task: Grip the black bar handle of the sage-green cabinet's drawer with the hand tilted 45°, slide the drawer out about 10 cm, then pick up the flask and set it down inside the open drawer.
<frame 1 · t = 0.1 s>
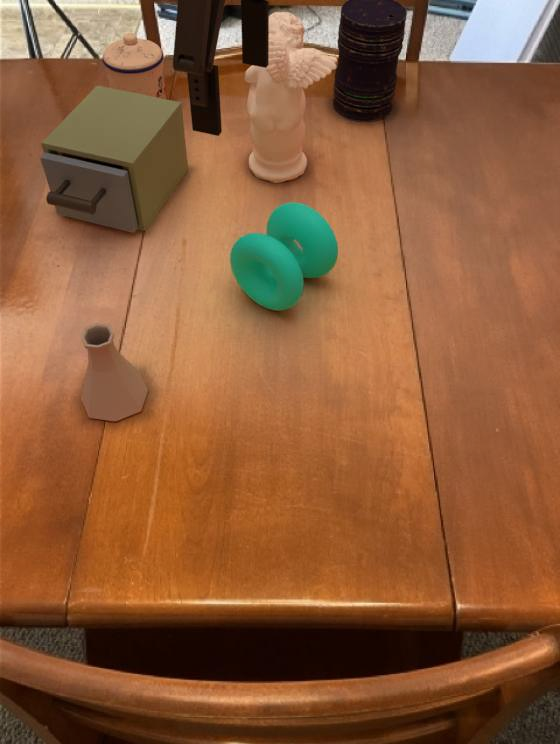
hand: (232, 96, 69), 23 cm above the table, tool pointing down, fingers open, 13 cm apart
cherub figurine: (287, 172, 100), on the table
drawer: (105, 176, 89), point 5 cm above the table, slide at 0.5 cm
flask: (115, 396, 74), on the table
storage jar: (362, 106, 111), on the table
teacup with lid: (140, 104, 110), on the table
green rounded spool: (283, 287, 85), on the table
cabinet: (126, 189, 96), on the table
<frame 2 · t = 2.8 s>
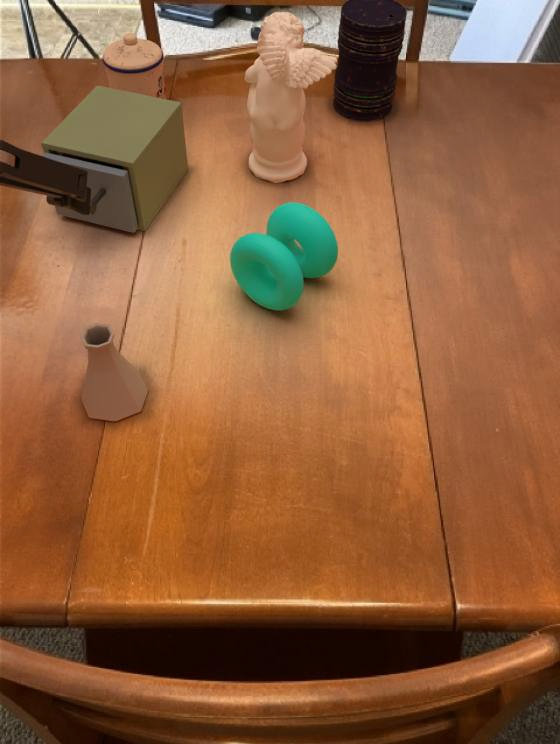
hand: (25, 198, 71), 15 cm above the table, tool tilted 40°, fingers open, 13 cm apart
nothing on the table moved.
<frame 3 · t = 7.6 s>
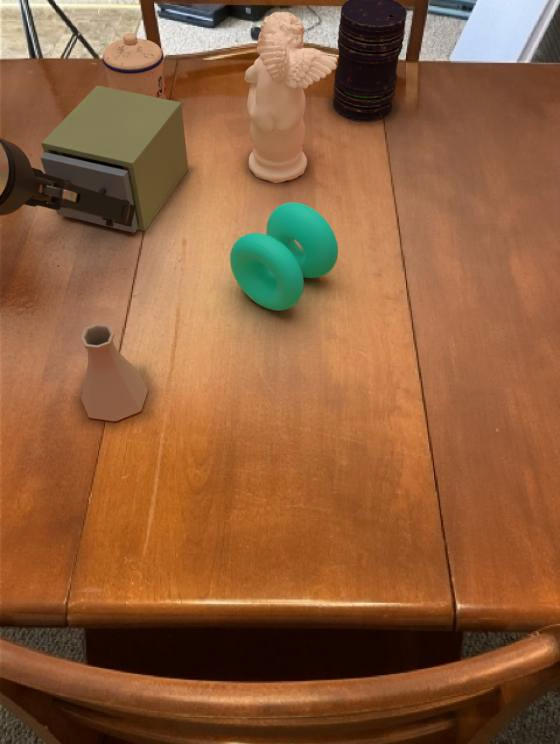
hand: (87, 205, 87), 4 cm above the table, tool tilted 45°, fingers closed on drawer, 11 cm apart
drawer: (105, 175, 89), point 5 cm above the table, slide at 0.5 cm, touching gripper
everything else where it was.
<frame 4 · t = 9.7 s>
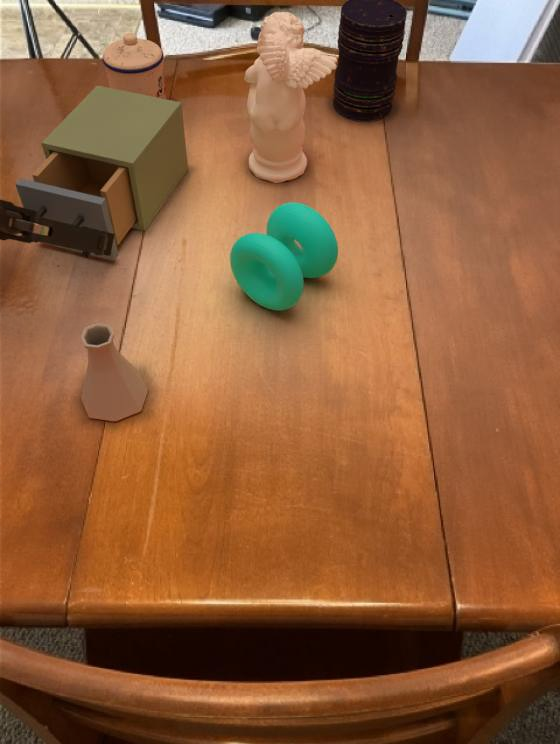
hand: (65, 233, 84), 4 cm above the table, tool tilted 45°, fingers closed on drawer, 11 cm apart
drawer: (84, 201, 86), point 5 cm above the table, slide at 6.2 cm, touching gripper
everything else where it was.
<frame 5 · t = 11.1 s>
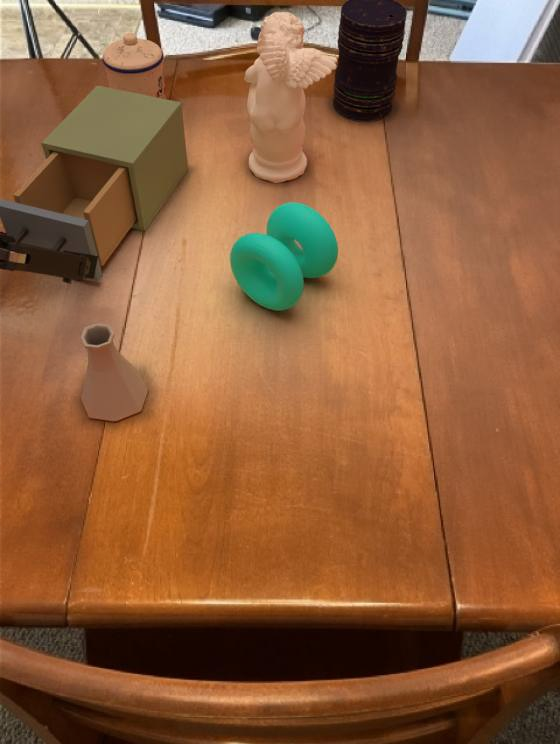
hand: (47, 255, 81), 4 cm above the table, tool tilted 45°, fingers closed on drawer, 11 cm apart
drawer: (67, 221, 83), point 5 cm above the table, slide at 10.4 cm, touching gripper
everything else where it was.
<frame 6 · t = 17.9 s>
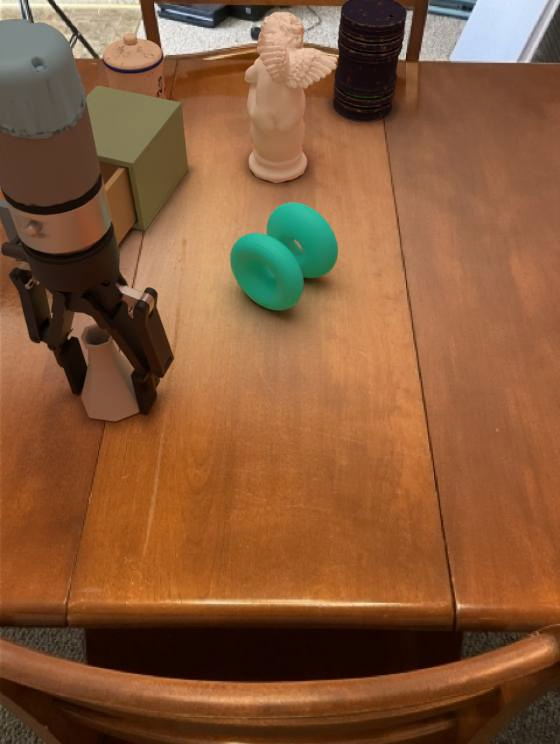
hand: (114, 394, 74), 0 cm above the table, tool pointing down, fingers closed on flask, 7 cm apart
drawer: (67, 221, 83), point 5 cm above the table, slide at 10.4 cm
flask: (115, 396, 74), on the table, touching gripper
everything else where it was.
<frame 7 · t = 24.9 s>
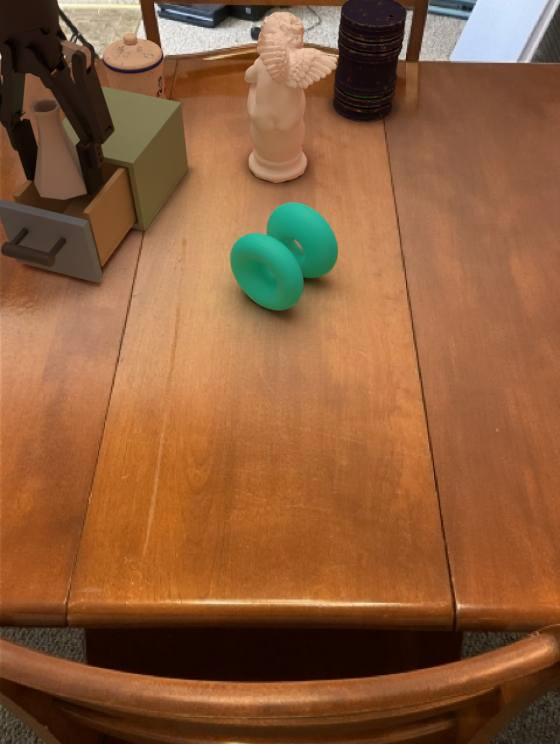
hand: (65, 180, 81), 10 cm above the table, tool pointing down, fingers closed on flask, 7 cm apart
flask: (66, 184, 81), point 10 cm above the table, touching gripper
everything else where it was.
when the fingers open (10 cm above the table, at t = 33.2 s): flask drops 8 cm, resting on drawer.
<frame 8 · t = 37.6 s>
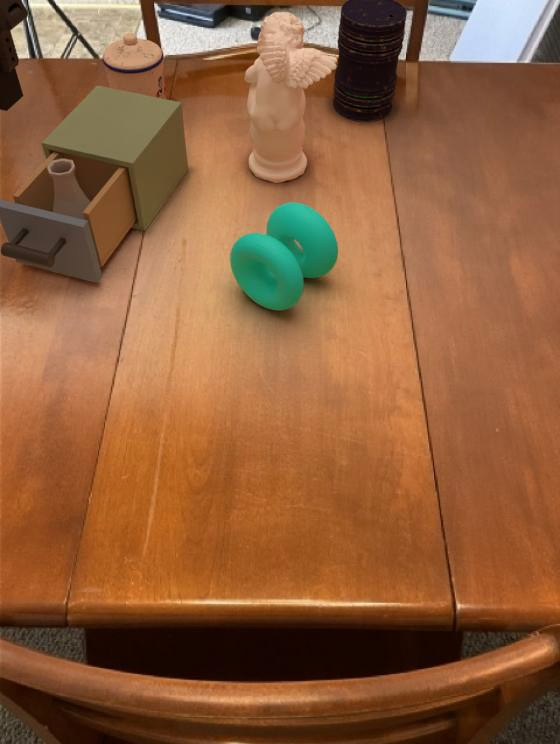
drawer: (67, 222, 83), point 5 cm above the table, slide at 10.5 cm, touching flask
flask: (79, 234, 87), point 2 cm above the table, touching drawer
everything else where it was.
at the end: drawer slide at 10.5 cm; flask inside the target area in the drawer (6.0 cm from its centre), point 1.8 cm above the cabinet's base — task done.
